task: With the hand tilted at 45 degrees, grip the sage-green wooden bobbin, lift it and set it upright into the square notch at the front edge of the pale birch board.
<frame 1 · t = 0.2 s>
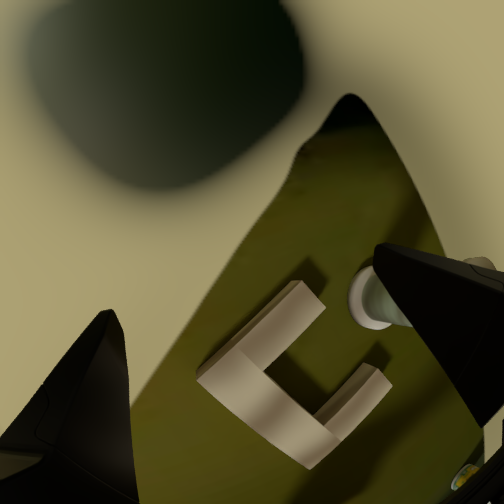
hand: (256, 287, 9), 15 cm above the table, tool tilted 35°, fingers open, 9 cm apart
supplement bottle: (460, 475, 28), on the table
bobbin: (373, 296, 26), on the table
notched board: (298, 380, 24), on the table
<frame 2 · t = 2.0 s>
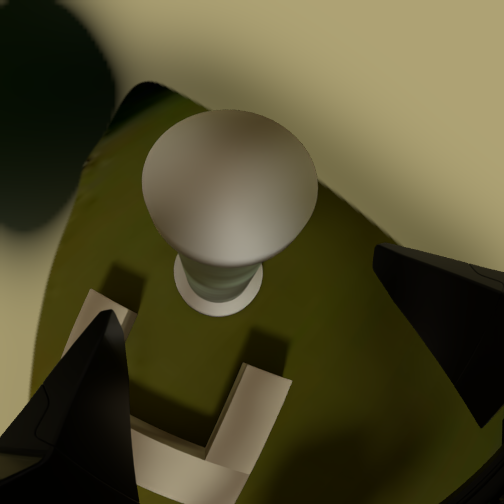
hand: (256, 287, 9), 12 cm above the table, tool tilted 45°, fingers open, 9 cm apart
bobbin: (217, 274, 21), on the table
notched board: (159, 408, 17), on the table
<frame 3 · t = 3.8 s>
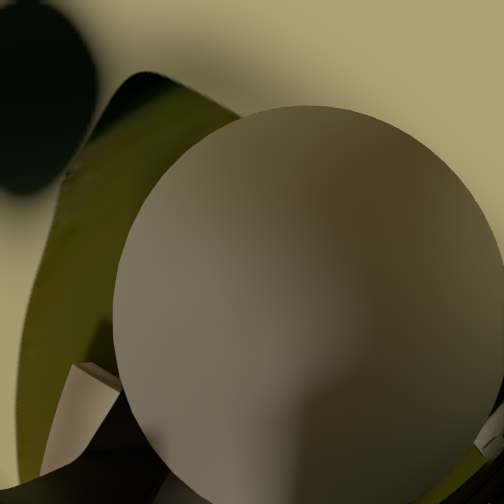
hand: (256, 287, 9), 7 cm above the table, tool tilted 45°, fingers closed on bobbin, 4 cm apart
bobbin: (243, 336, 15), on the table, touching gripper
notched board: (173, 494, 12), on the table
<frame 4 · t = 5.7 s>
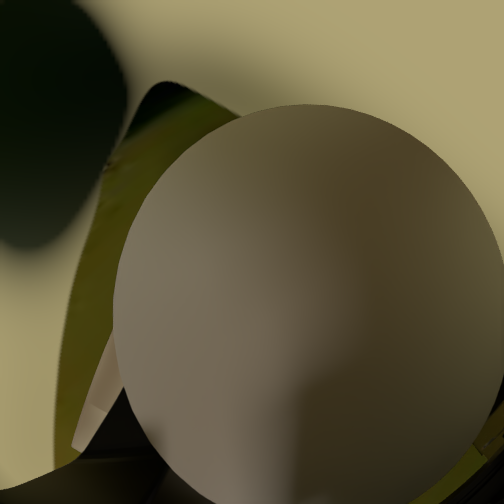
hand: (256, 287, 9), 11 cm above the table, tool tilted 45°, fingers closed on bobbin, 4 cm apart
bobbin: (243, 336, 15), point 5 cm above the table, touching gripper
notched board: (196, 420, 17), on the table
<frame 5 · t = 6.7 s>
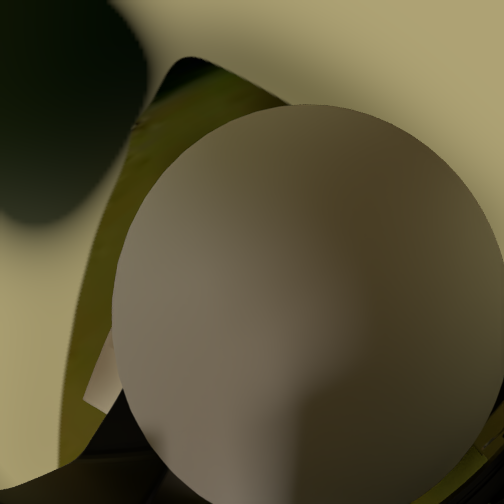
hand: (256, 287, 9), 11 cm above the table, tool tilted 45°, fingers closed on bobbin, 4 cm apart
bobbin: (243, 336, 15), point 4 cm above the table, touching gripper
notched board: (221, 370, 18), on the table
when the fingers open (8 cm above the table, at t = 7.6 s): bobbin drops 1 cm, on the table.
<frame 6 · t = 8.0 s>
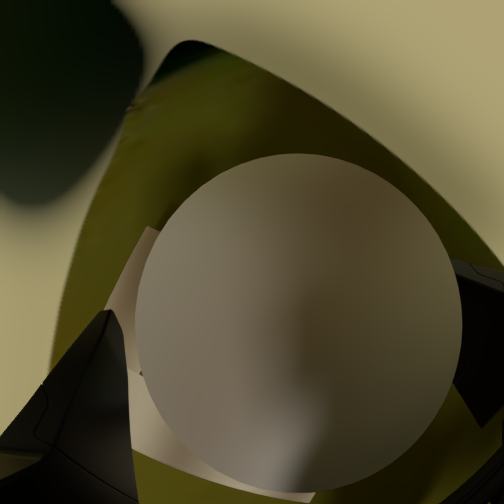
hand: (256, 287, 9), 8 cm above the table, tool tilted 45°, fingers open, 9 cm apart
bobbin: (241, 338, 16), on the table
notched board: (224, 376, 15), on the table
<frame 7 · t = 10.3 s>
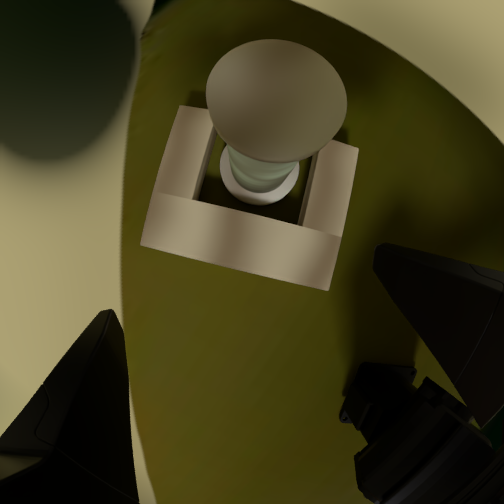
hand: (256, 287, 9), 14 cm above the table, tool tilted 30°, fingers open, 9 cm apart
bobbin: (258, 168, 23), on the table
notched board: (251, 197, 23), on the table
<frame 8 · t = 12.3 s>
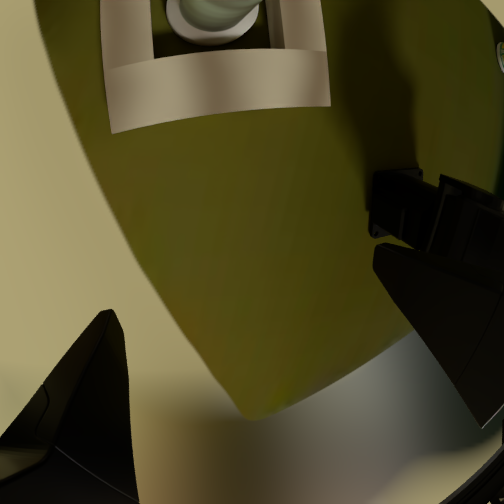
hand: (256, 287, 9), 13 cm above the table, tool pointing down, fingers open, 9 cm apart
supplement bottle: (501, 58, 22), on the table
bobbin: (210, 9, 14), on the table
notched board: (212, 38, 15), on the table
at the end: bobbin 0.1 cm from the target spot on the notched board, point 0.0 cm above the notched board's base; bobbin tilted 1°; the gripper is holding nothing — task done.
